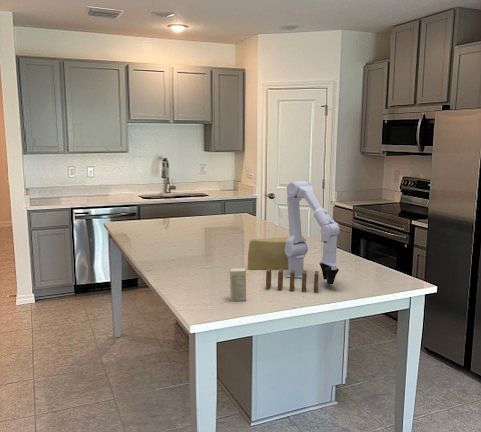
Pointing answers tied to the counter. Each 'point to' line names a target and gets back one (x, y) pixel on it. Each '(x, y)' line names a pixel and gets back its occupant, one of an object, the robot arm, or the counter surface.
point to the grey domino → (327, 283)
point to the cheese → (267, 254)
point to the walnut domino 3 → (292, 279)
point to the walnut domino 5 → (316, 281)
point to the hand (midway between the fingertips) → (328, 281)
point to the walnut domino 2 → (280, 279)
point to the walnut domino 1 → (268, 279)
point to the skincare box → (238, 284)
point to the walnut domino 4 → (304, 280)
